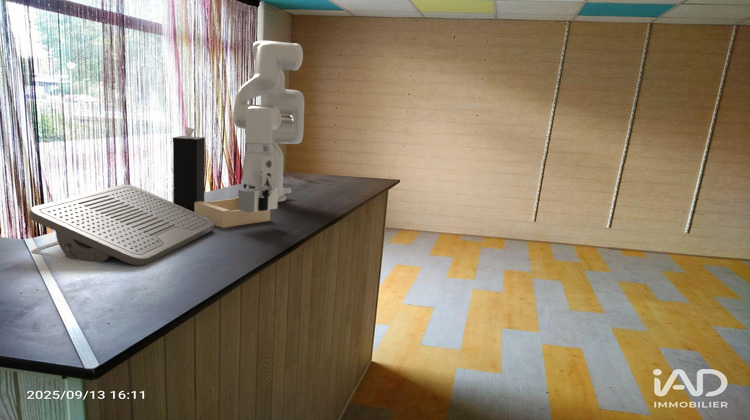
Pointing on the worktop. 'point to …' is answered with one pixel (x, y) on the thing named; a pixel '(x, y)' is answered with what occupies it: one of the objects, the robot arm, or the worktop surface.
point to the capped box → (255, 199)
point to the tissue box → (188, 169)
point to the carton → (229, 213)
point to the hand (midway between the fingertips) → (256, 208)
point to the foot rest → (119, 225)
